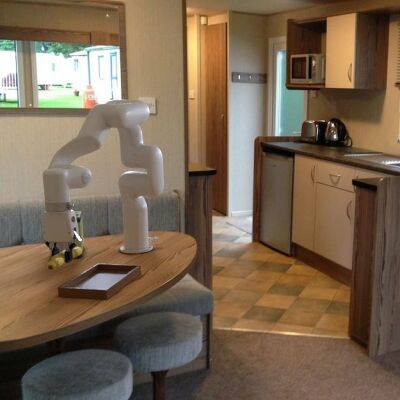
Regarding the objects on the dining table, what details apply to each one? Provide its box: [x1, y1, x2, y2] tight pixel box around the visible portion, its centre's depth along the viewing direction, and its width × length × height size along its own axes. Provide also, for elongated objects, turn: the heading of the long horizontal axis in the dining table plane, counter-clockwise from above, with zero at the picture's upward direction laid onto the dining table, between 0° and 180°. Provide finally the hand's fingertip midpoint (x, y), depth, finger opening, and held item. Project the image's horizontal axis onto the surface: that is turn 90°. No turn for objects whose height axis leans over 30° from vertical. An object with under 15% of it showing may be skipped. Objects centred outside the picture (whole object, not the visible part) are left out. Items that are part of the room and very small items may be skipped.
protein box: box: [57, 209, 85, 259], centre depth 216 cm, size 10×16×16 cm
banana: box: [45, 247, 84, 272], centre depth 183 cm, size 20×4×4 cm, turn 175°
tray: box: [57, 262, 142, 300], centre depth 183 cm, size 26×16×3 cm, turn 175°
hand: (62, 260), depth 184 cm, fingers closed on banana, 3 cm apart
